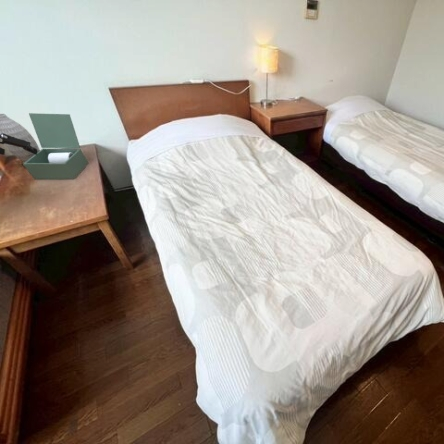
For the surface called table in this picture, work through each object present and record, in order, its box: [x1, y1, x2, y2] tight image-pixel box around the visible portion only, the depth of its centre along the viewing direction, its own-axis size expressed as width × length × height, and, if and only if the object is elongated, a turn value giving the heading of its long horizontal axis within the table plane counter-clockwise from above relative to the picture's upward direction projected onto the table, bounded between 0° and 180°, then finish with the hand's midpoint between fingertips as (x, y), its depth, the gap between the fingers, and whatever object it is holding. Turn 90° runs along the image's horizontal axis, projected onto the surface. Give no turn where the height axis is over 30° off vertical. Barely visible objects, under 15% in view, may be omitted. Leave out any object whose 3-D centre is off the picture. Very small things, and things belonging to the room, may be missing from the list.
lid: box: [28, 112, 81, 149], centre depth 142 cm, size 18×20×5 cm
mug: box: [48, 152, 73, 163], centre depth 143 cm, size 12×10×8 cm
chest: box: [22, 148, 89, 181], centre depth 141 cm, size 18×20×10 cm
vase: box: [0, 113, 41, 164], centre depth 139 cm, size 13×13×28 cm
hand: (20, 152), depth 120 cm, fingers open, 13 cm apart
